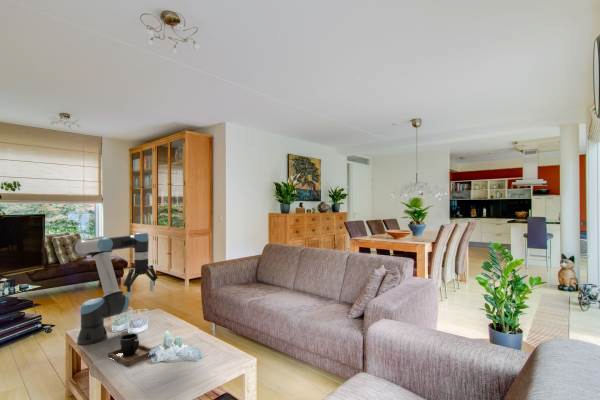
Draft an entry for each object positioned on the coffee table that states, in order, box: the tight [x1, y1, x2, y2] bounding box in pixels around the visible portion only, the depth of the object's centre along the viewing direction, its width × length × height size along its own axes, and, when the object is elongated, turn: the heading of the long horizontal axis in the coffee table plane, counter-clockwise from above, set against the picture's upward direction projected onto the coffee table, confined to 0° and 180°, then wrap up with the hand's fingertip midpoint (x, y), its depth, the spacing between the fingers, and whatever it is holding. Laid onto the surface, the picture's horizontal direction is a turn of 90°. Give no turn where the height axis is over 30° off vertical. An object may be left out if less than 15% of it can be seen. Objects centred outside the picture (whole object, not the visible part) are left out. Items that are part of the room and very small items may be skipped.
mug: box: [119, 333, 140, 357], centre depth 169 cm, size 8×12×10 cm
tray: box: [107, 343, 153, 367], centre depth 169 cm, size 18×15×2 cm
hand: (141, 294), depth 187 cm, fingers open, 13 cm apart
